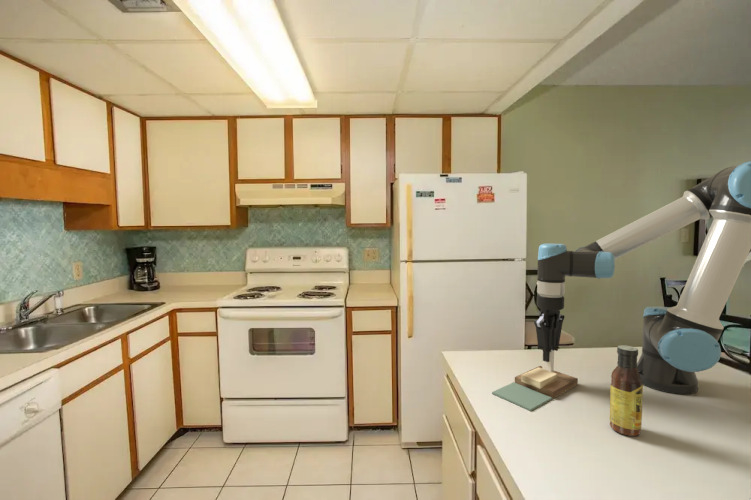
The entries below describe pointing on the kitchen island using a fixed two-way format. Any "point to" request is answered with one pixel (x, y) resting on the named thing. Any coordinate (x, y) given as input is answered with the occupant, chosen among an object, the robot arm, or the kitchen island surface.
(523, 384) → the walnut deck
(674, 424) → the kitchen island surface
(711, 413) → the kitchen island surface
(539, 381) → the maple tile
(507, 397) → the rubber mat
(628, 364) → the sauce bottle
